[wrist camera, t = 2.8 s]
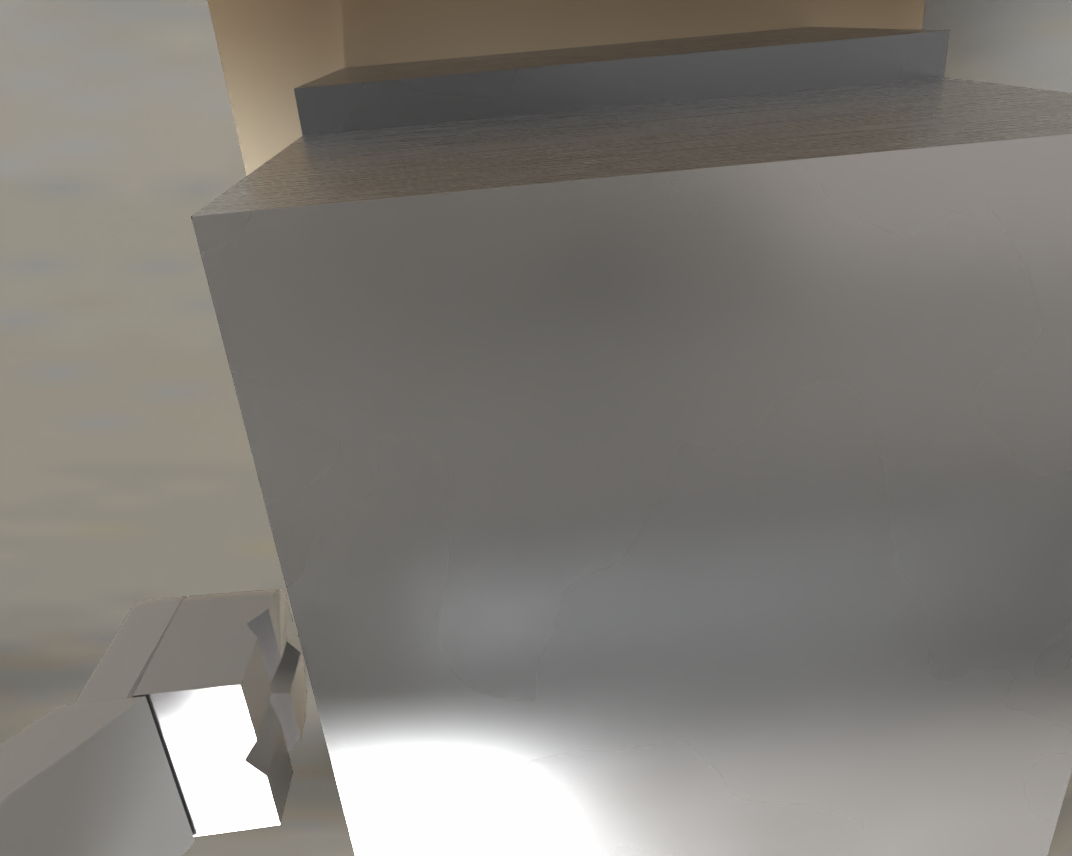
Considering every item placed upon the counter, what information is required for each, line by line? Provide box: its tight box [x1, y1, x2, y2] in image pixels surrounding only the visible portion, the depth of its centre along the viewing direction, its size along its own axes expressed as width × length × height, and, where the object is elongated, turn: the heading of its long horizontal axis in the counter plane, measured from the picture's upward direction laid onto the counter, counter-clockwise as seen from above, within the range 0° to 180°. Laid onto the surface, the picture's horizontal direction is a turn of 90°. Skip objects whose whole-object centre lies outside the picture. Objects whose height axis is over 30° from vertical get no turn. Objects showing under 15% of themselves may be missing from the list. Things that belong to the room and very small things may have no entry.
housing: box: [191, 27, 1072, 856], centre depth 10 cm, size 10×6×7 cm, turn 4°
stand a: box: [208, 0, 925, 175], centre depth 14 cm, size 13×9×3 cm
